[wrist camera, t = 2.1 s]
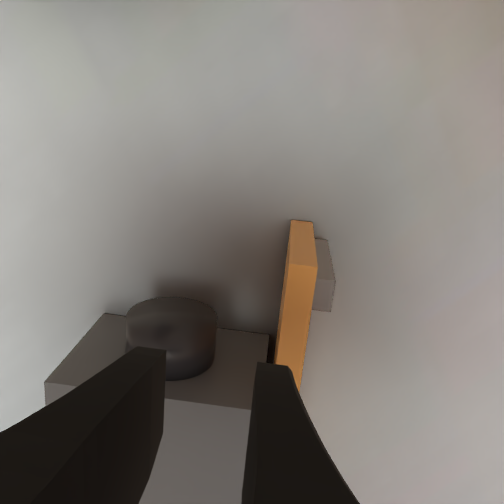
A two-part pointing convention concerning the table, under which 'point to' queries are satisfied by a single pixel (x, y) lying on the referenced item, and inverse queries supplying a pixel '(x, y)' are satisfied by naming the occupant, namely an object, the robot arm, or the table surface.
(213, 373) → the camera housing
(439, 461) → the table surface
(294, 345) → the side door
